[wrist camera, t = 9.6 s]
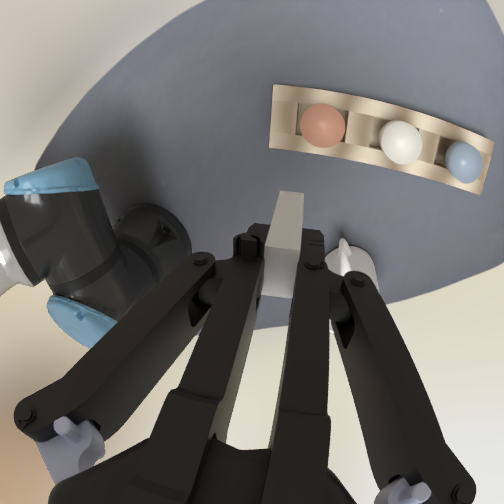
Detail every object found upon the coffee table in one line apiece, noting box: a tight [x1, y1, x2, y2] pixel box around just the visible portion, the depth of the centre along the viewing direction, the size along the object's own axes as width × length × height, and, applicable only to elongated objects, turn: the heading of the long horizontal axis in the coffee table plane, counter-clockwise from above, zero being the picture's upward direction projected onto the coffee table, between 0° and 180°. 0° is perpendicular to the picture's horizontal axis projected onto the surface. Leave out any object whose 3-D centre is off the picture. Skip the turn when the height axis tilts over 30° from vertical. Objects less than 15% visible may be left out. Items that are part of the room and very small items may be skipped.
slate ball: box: [444, 141, 483, 184], centre depth 25 cm, size 5×5×4 cm
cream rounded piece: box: [379, 120, 423, 165], centre depth 27 cm, size 5×5×4 cm
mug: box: [325, 238, 380, 333], centre depth 38 cm, size 9×12×11 cm
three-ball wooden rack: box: [269, 84, 494, 195], centre depth 29 cm, size 30×8×3 cm, turn 88°
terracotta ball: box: [300, 104, 345, 148], centre depth 28 cm, size 5×5×4 cm
